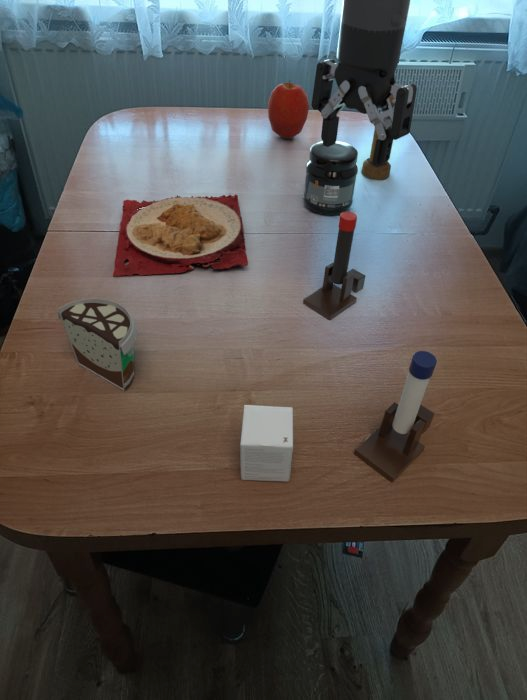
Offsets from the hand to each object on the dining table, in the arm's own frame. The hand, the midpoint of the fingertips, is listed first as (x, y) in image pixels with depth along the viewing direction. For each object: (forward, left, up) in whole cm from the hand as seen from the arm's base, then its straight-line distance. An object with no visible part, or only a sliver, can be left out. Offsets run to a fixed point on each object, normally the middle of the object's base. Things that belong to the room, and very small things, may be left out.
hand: (352, 154), depth 74 cm
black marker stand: (-1, 0, -26) cm, 26 cm away
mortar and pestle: (-45, -24, -26) cm, 57 cm away
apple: (-45, -52, -19) cm, 71 cm away
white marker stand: (+17, +25, -26) cm, 40 cm away
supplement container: (-25, -22, -26) cm, 42 cm away
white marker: (+15, +25, -16) cm, 33 cm away
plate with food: (+6, -33, -26) cm, 42 cm away
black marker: (-3, 0, -16) cm, 16 cm away
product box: (+31, +15, -26) cm, 43 cm away
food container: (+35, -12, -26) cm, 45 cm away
